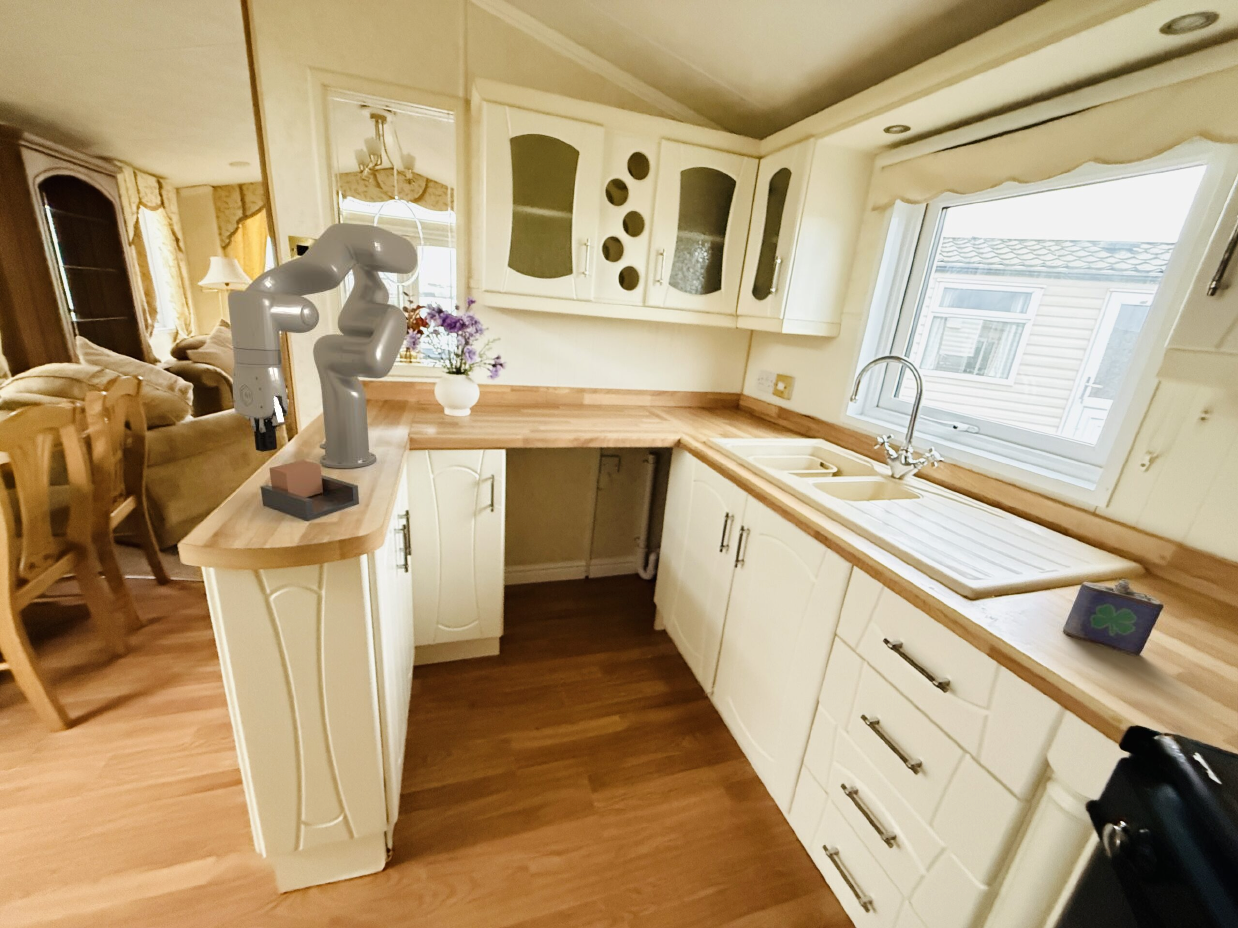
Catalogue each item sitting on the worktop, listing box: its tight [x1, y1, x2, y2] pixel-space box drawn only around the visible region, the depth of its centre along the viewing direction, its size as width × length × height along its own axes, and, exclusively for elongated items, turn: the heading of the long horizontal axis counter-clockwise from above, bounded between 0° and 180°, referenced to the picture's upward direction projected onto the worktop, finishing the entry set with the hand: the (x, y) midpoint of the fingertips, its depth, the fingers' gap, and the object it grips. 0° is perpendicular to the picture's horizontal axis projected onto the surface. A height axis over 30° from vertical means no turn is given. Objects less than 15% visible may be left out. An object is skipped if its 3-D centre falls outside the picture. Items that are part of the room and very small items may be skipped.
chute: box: [260, 474, 360, 522], centre depth 99 cm, size 13×11×4 cm
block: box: [268, 459, 323, 497], centre depth 100 cm, size 5×7×6 cm
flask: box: [1062, 578, 1164, 657], centre depth 75 cm, size 9×3×11 cm, turn 59°
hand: (266, 449), depth 100 cm, fingers closed
